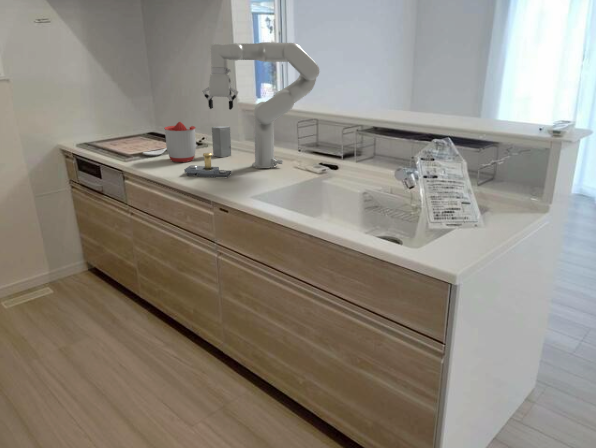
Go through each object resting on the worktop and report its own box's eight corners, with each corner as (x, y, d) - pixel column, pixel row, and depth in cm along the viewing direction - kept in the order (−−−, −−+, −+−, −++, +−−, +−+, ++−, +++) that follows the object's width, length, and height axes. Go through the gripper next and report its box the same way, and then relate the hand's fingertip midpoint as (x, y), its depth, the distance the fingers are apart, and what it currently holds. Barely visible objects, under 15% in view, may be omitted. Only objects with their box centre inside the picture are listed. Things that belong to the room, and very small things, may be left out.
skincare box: (221, 158, 262) (220, 128, 257) (212, 156, 266) (210, 126, 261) (232, 155, 269) (231, 126, 263) (223, 153, 273) (222, 125, 267)
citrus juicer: (203, 157, 263) (201, 119, 256) (188, 164, 247) (186, 124, 240) (177, 155, 267) (175, 118, 260) (161, 162, 251) (157, 122, 244)
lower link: (231, 173, 231) (231, 169, 230) (226, 178, 223) (226, 173, 223) (202, 172, 233) (202, 167, 232) (197, 176, 225) (196, 171, 225)
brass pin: (213, 173, 230) (212, 153, 227) (211, 176, 226) (210, 154, 223) (205, 173, 231) (204, 152, 227) (202, 175, 227) (201, 154, 224)
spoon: (198, 150, 281) (197, 144, 280) (148, 158, 259) (148, 152, 258) (189, 147, 287) (188, 142, 286) (139, 156, 265) (139, 149, 264)
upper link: (219, 173, 232) (218, 165, 230) (213, 177, 224) (213, 169, 223) (190, 171, 234) (190, 163, 232) (184, 175, 226) (184, 167, 225)
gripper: (239, 71, 230) (240, 108, 236) (204, 70, 233) (206, 107, 239) (235, 72, 224) (236, 110, 229) (199, 71, 226) (201, 109, 232)
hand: (220, 108), depth 234 cm, fingers open, 9 cm apart
